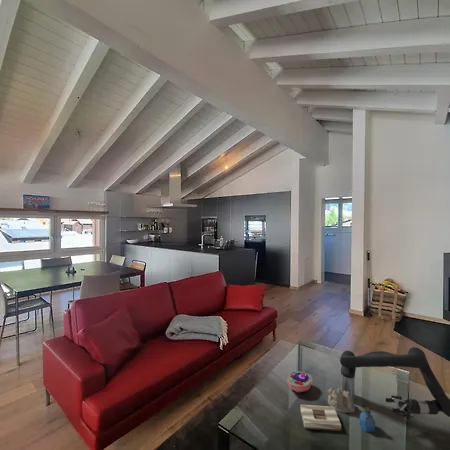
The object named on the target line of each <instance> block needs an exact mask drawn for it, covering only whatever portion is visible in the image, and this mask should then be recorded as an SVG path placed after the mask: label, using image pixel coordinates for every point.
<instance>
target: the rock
mask: <svg viewBox="0 0 450 450" xmlns="http://www.w3.org/2000/svg"><path fill="white" fill-rule="evenodd" d="M327 393H328V396H327V402H328V403H327V404H328V406H330V407H334V408H335V411H336V412H338V413H342V414H344V413H345V414H346V413H348V414H349V413H354V412H355V410H356V409H355V408H356V407H355V405H354V404H355V403H354V402H355V400H354V401H353V400H352V399H351V397H350V395H349V392H348V391H347V392H345V390H344V391H343V392H342V391H341V388H339V387H338V388H337V389H334V388H333V387H330V388H329V389H327Z"/></svg>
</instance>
